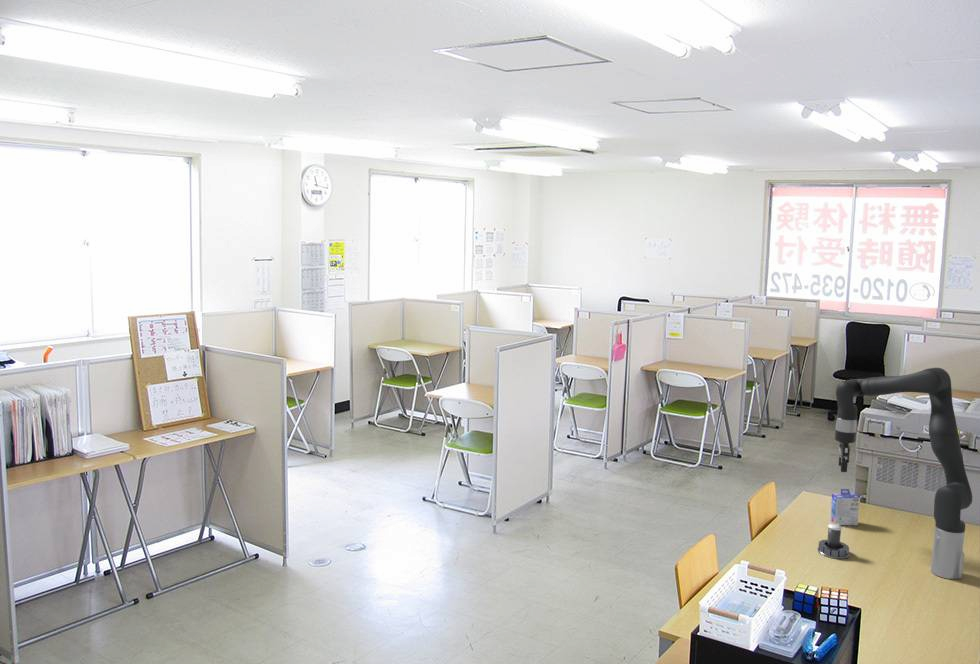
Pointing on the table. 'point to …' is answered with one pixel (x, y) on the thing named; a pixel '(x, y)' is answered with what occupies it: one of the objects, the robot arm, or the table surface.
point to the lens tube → (834, 536)
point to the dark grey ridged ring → (833, 550)
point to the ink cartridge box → (845, 508)
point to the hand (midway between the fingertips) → (842, 468)
